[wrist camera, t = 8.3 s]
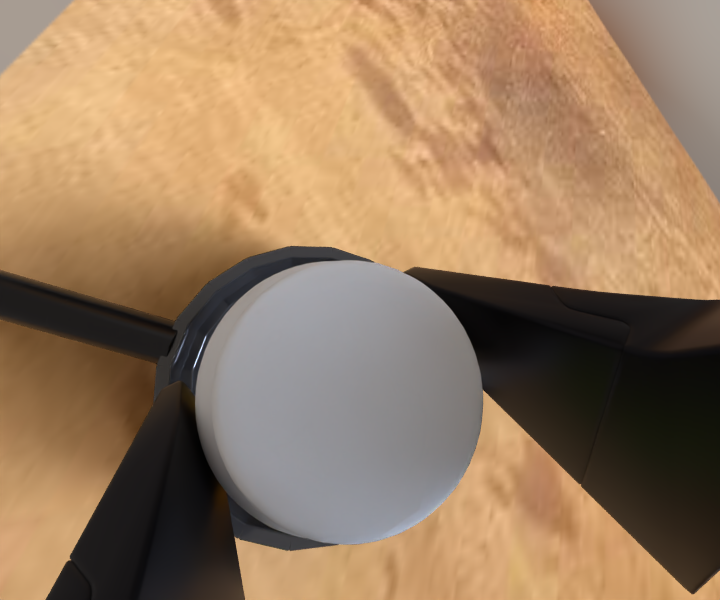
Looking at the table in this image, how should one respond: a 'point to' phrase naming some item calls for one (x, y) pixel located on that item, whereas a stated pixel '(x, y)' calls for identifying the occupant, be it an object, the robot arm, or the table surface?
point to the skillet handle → (84, 318)
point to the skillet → (195, 336)
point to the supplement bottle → (339, 401)
